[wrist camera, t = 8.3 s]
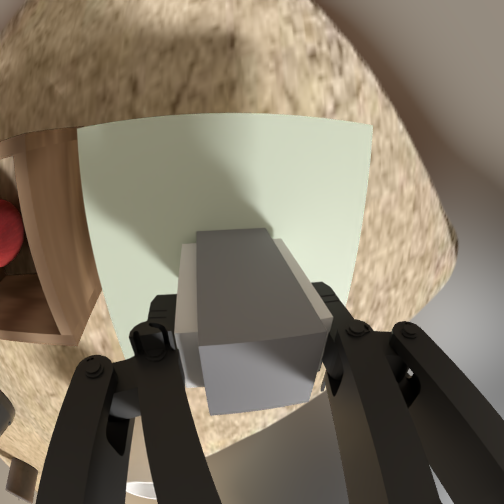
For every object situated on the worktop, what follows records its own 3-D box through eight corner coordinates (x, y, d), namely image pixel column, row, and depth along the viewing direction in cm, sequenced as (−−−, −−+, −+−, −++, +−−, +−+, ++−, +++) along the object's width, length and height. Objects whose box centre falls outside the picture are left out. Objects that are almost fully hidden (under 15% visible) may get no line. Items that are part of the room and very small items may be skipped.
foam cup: (125, 419, 34) (120, 493, 22) (128, 386, 31) (119, 476, 19) (185, 429, 37) (191, 502, 25) (199, 399, 33) (207, 486, 22)
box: (3, 283, 22) (-36, 333, 14) (-25, 158, 16) (-84, 182, 8) (106, 280, 24) (77, 346, 16) (84, 126, 18) (24, 133, 10)
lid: (130, 347, 18) (113, 466, 10) (88, 127, 12) (-37, 150, 3) (328, 330, 21) (384, 429, 12) (358, 123, 14) (495, 148, 6)
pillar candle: (32, 465, 43) (25, 502, 30) (41, 474, 47) (36, 509, 34) (8, 453, 41) (-1, 489, 27) (18, 464, 44) (11, 497, 31)
